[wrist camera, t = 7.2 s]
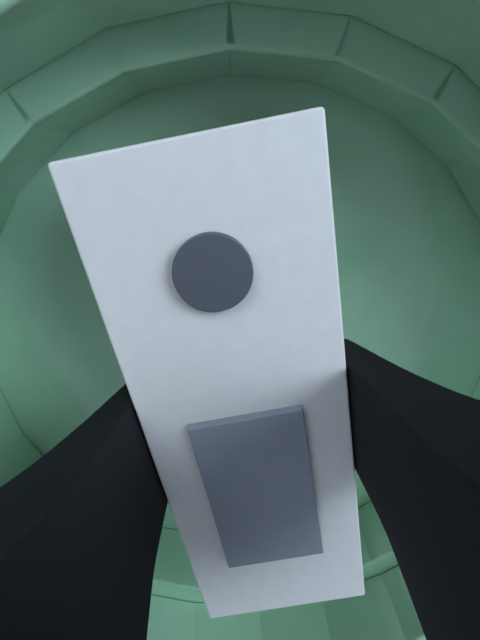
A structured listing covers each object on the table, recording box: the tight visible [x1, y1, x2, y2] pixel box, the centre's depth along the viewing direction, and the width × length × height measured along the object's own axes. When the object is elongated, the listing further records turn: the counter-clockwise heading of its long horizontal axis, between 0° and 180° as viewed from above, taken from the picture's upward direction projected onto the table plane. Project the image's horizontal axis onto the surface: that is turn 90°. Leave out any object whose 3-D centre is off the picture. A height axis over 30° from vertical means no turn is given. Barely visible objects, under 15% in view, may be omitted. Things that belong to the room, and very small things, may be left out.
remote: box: [48, 107, 365, 618], centre depth 9 cm, size 12×4×4 cm, turn 10°
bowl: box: [0, 0, 480, 640], centre depth 10 cm, size 17×17×4 cm
